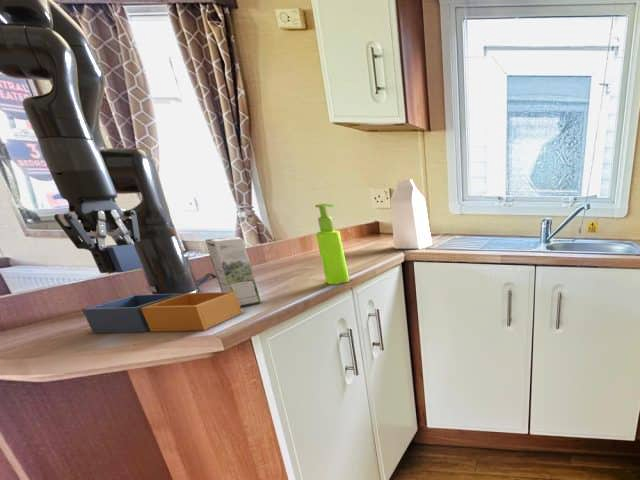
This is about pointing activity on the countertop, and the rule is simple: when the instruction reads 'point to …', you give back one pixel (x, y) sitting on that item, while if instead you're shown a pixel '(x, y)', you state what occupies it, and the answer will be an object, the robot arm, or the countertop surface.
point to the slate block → (123, 258)
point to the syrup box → (233, 268)
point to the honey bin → (192, 311)
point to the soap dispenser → (331, 249)
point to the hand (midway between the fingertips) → (121, 268)
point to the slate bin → (123, 313)
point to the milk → (409, 217)
